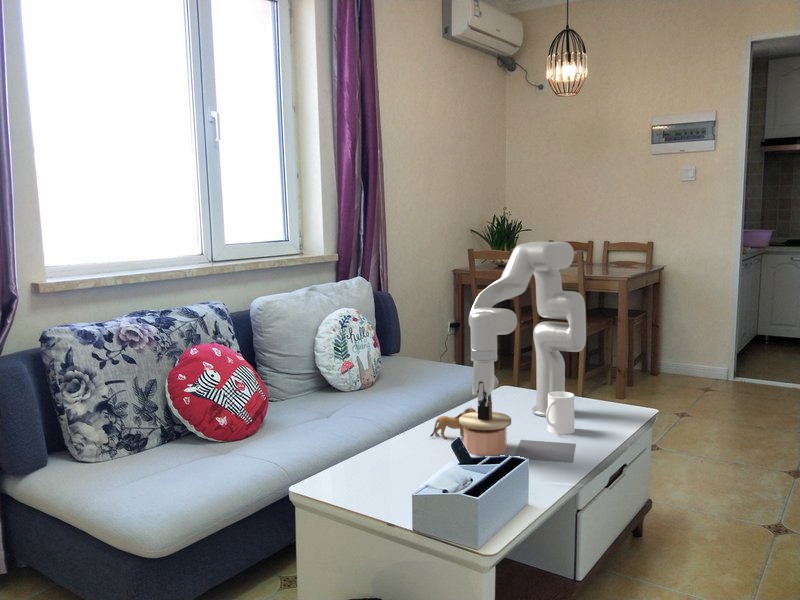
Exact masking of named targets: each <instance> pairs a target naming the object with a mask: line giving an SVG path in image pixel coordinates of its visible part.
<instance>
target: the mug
mask: <svg viewBox="0 0 800 600" xmlns="http://www.w3.org/2000/svg"><path fill="white" fill-rule="evenodd" d="M545 419H546V422H547V431H548V432H549V433H551V434H556V435H570V434H573V433H575V432H576V431H575V393H573V392H568V391H565V392H562V391H557V392H550V393H548V408H547V411H546V417H545Z"/></svg>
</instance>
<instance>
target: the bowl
mask: <svg viewBox="0 0 800 600" xmlns="http://www.w3.org/2000/svg"><path fill="white" fill-rule="evenodd" d="M507 430H508V427H505V428H502V429H496V430H476V429H470V428H466V427H464V438H463V446H464V445H465V446H466V448H467V450H468V451H469V453H468V454H471V455H474V456H479V457H480V456H481V457H488V456H487V455H493V456H499V455H501V454H503V453H504V454H505V453H506V452H507V449H508V448H507V446H508V443H507V440H508V437H507V435H508V434H507V433H508V432H507Z"/></svg>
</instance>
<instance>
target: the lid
mask: <svg viewBox="0 0 800 600" xmlns="http://www.w3.org/2000/svg"><path fill="white" fill-rule="evenodd" d="M485 401H486V400H485ZM488 406H489V420H481V419H478V411H476V412H471V413H467V414H464V415H462V416H460V418H459V423H460V424H461V425H462V426H464V427H466V428H470V429H476V430H496V429H502V428H505V427H507V428H508V427H510V426H511V424H512V417H511V416H509V414H506V413H502V412H497V411H493V400H491V401H489V400H488Z"/></svg>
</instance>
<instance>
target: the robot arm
mask: <svg viewBox="0 0 800 600" xmlns="http://www.w3.org/2000/svg"><path fill="white" fill-rule="evenodd" d="M574 257H575V251H574V248H573V246H572V245H571V244H570V243H569V242H568V241H567V242H566V241H530V242H526V243H519V244H518V245H516V246H515V247H514V248H513V250H512V251H511V254H510V257H509V259H508V261H507V263H506V264H505V268H504V269H503V271H502V274H501V275H500V278H499V279H497V280H495V281H494V282H492V283H491V284H489V285H488V286H487V287H486V288H484V289H483V290H481V292H480V293H478V295H477V296H476V298H475V300H474V302H473V304H472V307H471V309H470V311H469V313H468V314H469V315H468V326H469V327H470V361H471V362H473V367H472V389H471V392H472V396H474V397H475V396H476V395H477V412H478V419H481V420H489V406H488V400H489V401H493V400H492V399H493V398H492V392H493V391H494V389H495V362H497V361H498V335H501V336H502V335H510V334H511V333H513V332H514V331H515V329H516V328H517V325H518V318H517V314H516V313H515V312H514V311H513V310H511V309H508V308H500V307H498V308H497V307H493V306H495V305H497V304H498V303H500V302H503V301H505V300H509V299H511V298H515V297H517V296H520V295H522V294H523V293H524V292H526V290H527V289H528V285H529V283H530V281H531V278H532V277H533V276H534V279H535V296H536V298H535V299H536V308H537V309H536V310H537V314H538V315H539V316H540V317H542V318H545V319H551V320H553V319H554V320H566V321H567V322H561V321H541V322H539V323H538V324H536V325H535V326H534V328H533V332H532V333H533V334H532V335H533V343H534V348H535V357H536V358H535V359H536V360H535V361H536V363H535V364H536V405H535V406H532V408H531V413H532V414H534V415H536V416H540V417H543V418H544V417H545V418H546V411H547V408H548V393H550V392H557V391H562V392H566V386H565V385H566V384H565V382H566V376H565V375H566V374H565V373H566V372H565V371H566V364H565V363H566V362H565V359H564V357H563V355H562V354H561V352H571V353H572V352H574V353H578V352H581V351H583V350H584V349H585V347H586V341H587V322H586V321H587V320H586V319H587V318H586V302H585V299H584V297H583V295H582V294H581V293H580V292H577V291H574V290H573V291H572V290H571V291H570V290H563V285H562V275H561V272H560V270H565V269H567V268H569V267H570V266H571V265H572V263H573V262H574V259H575V258H574ZM560 351H561V352H560ZM485 400H486V401H485Z"/></svg>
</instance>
